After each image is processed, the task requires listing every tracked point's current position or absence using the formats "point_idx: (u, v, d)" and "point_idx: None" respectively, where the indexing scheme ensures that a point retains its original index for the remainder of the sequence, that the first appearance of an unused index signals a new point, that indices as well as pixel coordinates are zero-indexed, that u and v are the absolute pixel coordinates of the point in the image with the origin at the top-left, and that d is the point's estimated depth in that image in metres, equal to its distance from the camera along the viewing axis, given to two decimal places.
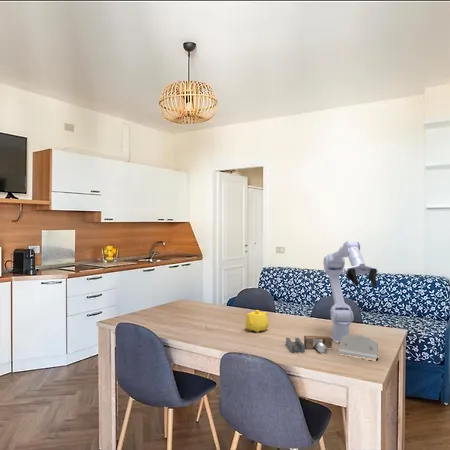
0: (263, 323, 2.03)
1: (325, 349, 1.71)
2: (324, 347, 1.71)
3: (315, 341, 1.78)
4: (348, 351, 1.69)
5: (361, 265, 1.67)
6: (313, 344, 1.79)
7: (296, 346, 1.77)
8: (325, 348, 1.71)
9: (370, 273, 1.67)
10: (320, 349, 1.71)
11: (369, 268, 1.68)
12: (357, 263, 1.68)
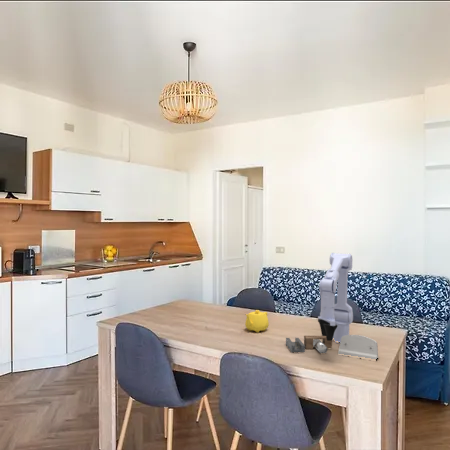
0: (263, 323, 2.03)
1: (325, 349, 1.71)
2: (324, 347, 1.71)
3: (315, 341, 1.78)
4: (348, 351, 1.69)
5: None
6: (313, 344, 1.79)
7: (296, 346, 1.77)
8: (325, 348, 1.71)
9: None
10: (320, 349, 1.71)
11: (327, 320, 1.62)
12: None
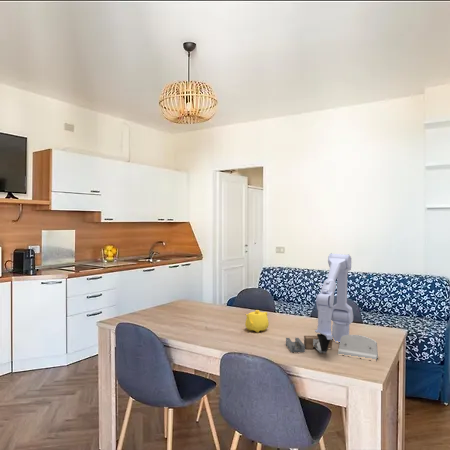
0: (263, 323, 2.03)
1: None
2: None
3: (315, 341, 1.78)
4: (348, 351, 1.69)
5: None
6: (313, 344, 1.79)
7: (296, 346, 1.77)
8: None
9: None
10: (320, 349, 1.71)
11: None
12: None
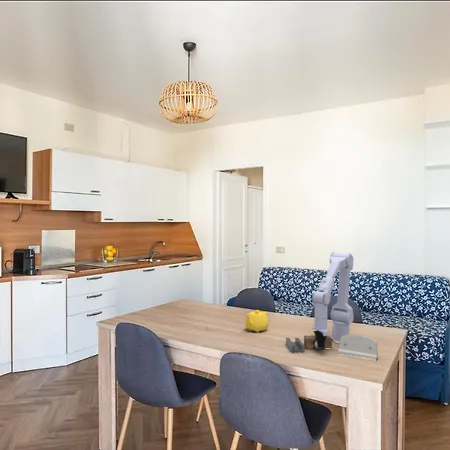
0: (263, 323, 2.03)
1: None
2: None
3: None
4: (347, 351, 1.69)
5: None
6: None
7: (296, 346, 1.77)
8: None
9: None
10: (316, 345, 1.76)
11: (320, 331, 1.71)
12: None
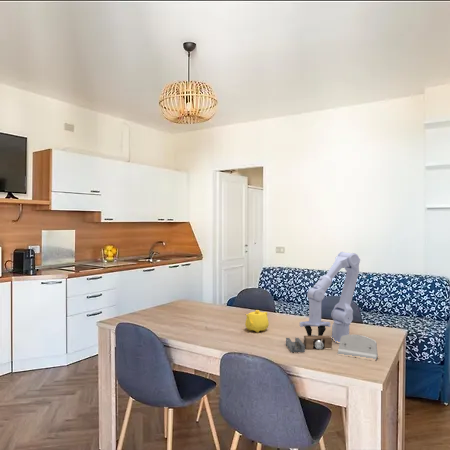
0: (263, 323, 2.03)
1: (321, 345, 1.77)
2: (321, 343, 1.77)
3: None
4: (347, 351, 1.69)
5: (316, 325, 1.81)
6: None
7: (296, 346, 1.77)
8: (321, 344, 1.77)
9: (319, 328, 1.84)
10: (317, 345, 1.76)
11: None
12: (313, 321, 1.82)
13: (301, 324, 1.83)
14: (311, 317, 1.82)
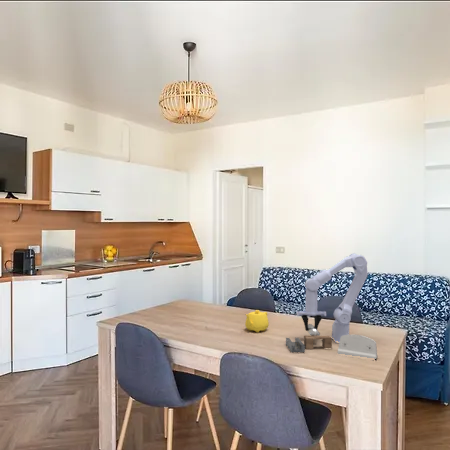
0: (263, 323, 2.03)
1: (318, 334, 1.83)
2: (317, 333, 1.83)
3: (309, 326, 1.90)
4: (347, 351, 1.69)
5: (312, 314, 1.88)
6: None
7: (296, 346, 1.77)
8: (318, 333, 1.83)
9: (315, 317, 1.90)
10: (313, 334, 1.83)
11: (319, 314, 1.90)
12: (309, 310, 1.88)
13: (298, 313, 1.89)
14: (307, 307, 1.89)
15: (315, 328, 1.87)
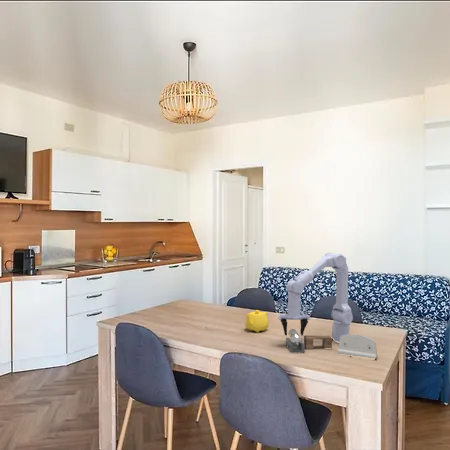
0: (263, 323, 2.03)
1: (300, 342, 1.73)
2: (299, 340, 1.73)
3: (291, 332, 1.79)
4: (347, 351, 1.69)
5: (294, 318, 1.77)
6: (289, 334, 1.81)
7: (296, 346, 1.77)
8: (300, 341, 1.73)
9: (301, 321, 1.80)
10: (295, 341, 1.73)
11: None
12: (292, 314, 1.78)
13: (280, 317, 1.79)
14: (290, 310, 1.79)
15: (298, 334, 1.77)
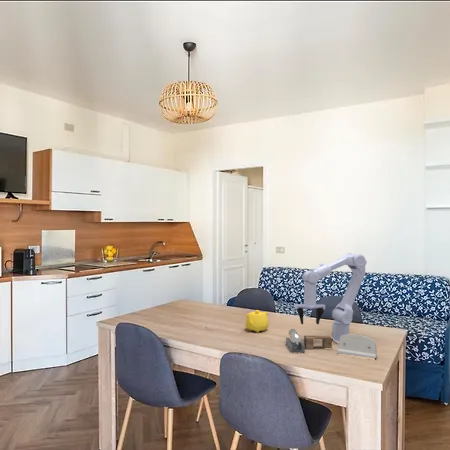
0: (263, 323, 2.03)
1: (300, 342, 1.73)
2: (299, 340, 1.73)
3: (291, 332, 1.79)
4: (347, 351, 1.69)
5: (310, 307, 1.83)
6: (289, 334, 1.81)
7: (296, 346, 1.77)
8: (300, 341, 1.73)
9: (317, 311, 1.86)
10: (295, 341, 1.73)
11: (318, 307, 1.85)
12: (308, 303, 1.84)
13: (296, 306, 1.85)
14: (306, 299, 1.84)
15: (298, 334, 1.77)
